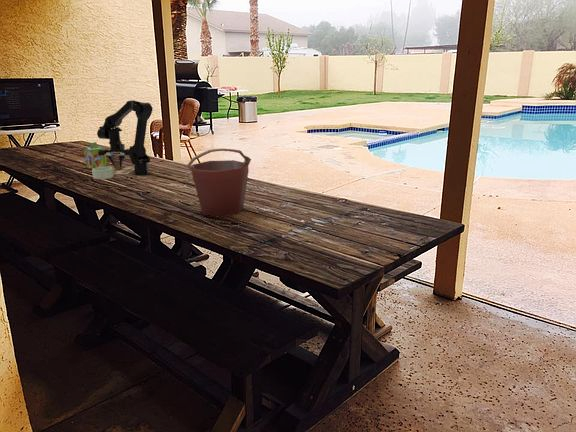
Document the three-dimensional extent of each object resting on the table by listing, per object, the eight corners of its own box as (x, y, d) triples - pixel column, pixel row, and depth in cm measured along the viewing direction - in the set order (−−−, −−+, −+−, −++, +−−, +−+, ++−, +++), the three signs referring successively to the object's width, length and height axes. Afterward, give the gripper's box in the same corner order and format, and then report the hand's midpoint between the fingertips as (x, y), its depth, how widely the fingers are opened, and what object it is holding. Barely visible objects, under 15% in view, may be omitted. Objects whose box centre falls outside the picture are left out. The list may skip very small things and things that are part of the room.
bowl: (115, 175, 265) (114, 166, 263) (109, 179, 255) (107, 170, 254) (97, 175, 265) (96, 166, 263) (90, 179, 255) (89, 170, 254)
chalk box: (94, 169, 282) (90, 144, 277) (85, 168, 287) (82, 143, 283) (108, 167, 289) (105, 142, 284) (99, 165, 294) (96, 141, 290)
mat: (136, 169, 281) (136, 168, 281) (127, 174, 267) (127, 173, 267) (110, 169, 282) (110, 168, 281) (100, 174, 267) (100, 174, 267)
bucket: (253, 203, 205) (251, 144, 198) (251, 218, 184) (248, 153, 177) (195, 204, 204) (191, 145, 197) (187, 220, 183) (181, 154, 176)
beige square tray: (133, 168, 280) (132, 160, 279) (126, 173, 268) (125, 164, 266) (111, 169, 280) (110, 160, 279) (102, 173, 268) (101, 165, 267)
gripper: (136, 137, 276) (139, 164, 281) (103, 137, 277) (107, 164, 281) (129, 140, 266) (132, 168, 270) (95, 140, 266) (99, 168, 271)
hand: (118, 167), depth 273 cm, fingers closed on beige square tray, 3 cm apart
